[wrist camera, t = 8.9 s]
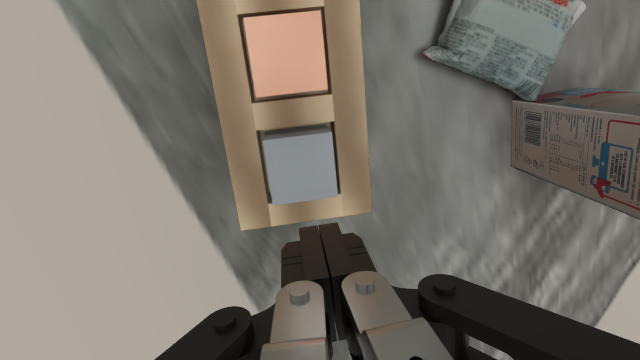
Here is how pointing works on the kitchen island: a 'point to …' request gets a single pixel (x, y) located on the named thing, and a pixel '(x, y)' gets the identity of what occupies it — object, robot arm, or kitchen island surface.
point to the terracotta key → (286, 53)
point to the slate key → (300, 164)
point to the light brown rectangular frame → (289, 108)
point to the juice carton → (582, 143)
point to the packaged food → (506, 40)
